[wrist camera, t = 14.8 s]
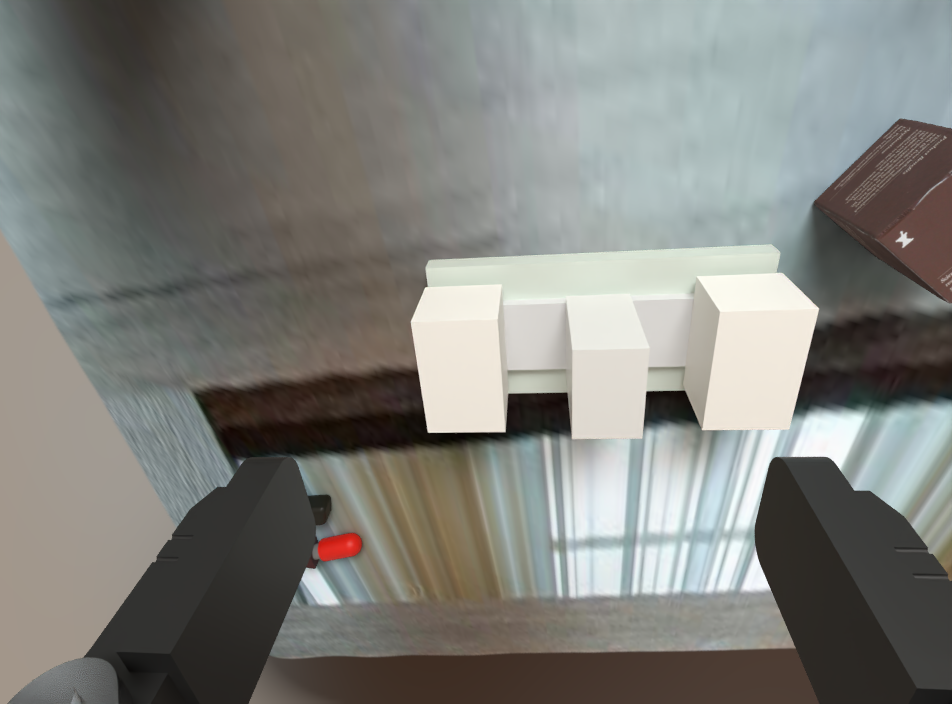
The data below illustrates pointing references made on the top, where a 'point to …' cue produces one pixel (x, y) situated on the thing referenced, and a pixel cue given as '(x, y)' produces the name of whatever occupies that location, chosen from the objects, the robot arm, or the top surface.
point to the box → (901, 203)
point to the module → (605, 367)
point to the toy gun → (331, 545)
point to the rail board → (661, 316)
